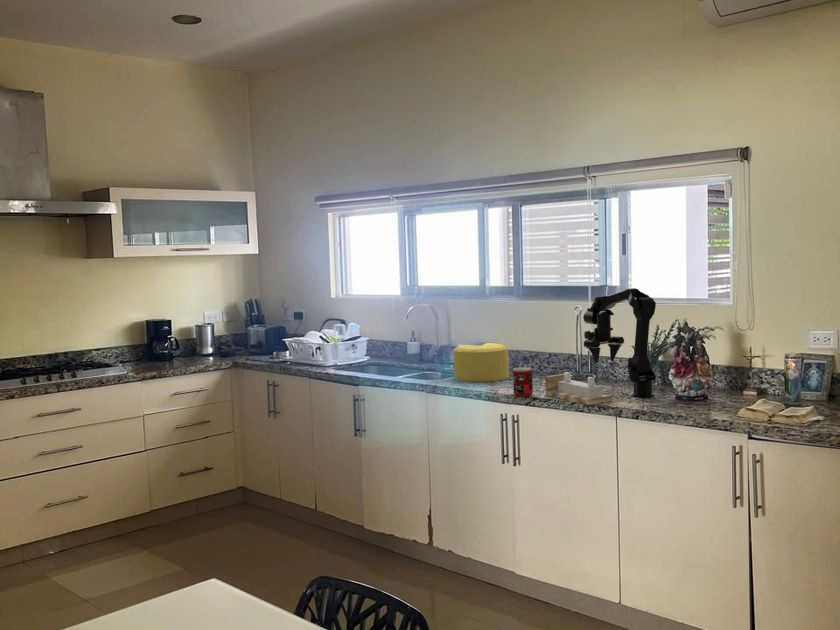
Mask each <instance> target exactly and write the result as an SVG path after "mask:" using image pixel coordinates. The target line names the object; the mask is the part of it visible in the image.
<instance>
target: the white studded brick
mask: <svg viewBox="0 0 840 630" xmlns="http://www.w3.org/2000/svg"><path fill="white" fill-rule="evenodd" d="M563 374H564V381H558V391H561V392H565V393H569V394H573V395H578V396H582V397H586V398H594V397H601V396H602V394H603V393H602V385H598V384H597V385H596V383H595V382H596V381H595V380H596V379H595V377H594V376H588V377H587V382H583V381H577V380H572V379H571V377H572V376H571V372H570V371H569V372H568V371H567V372H563Z"/></svg>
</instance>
